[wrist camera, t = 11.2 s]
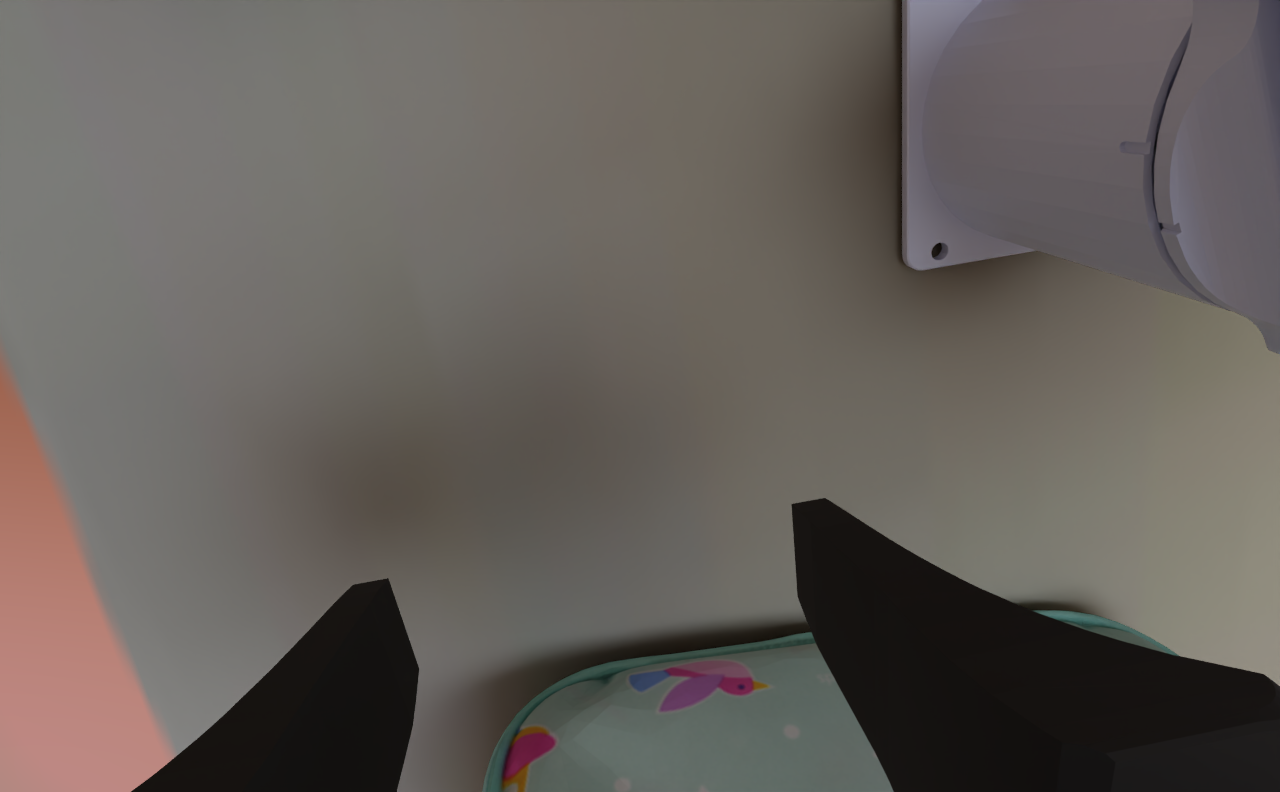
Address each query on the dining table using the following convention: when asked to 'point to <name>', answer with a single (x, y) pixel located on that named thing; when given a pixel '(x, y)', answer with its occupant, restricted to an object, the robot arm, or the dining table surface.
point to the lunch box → (706, 724)
